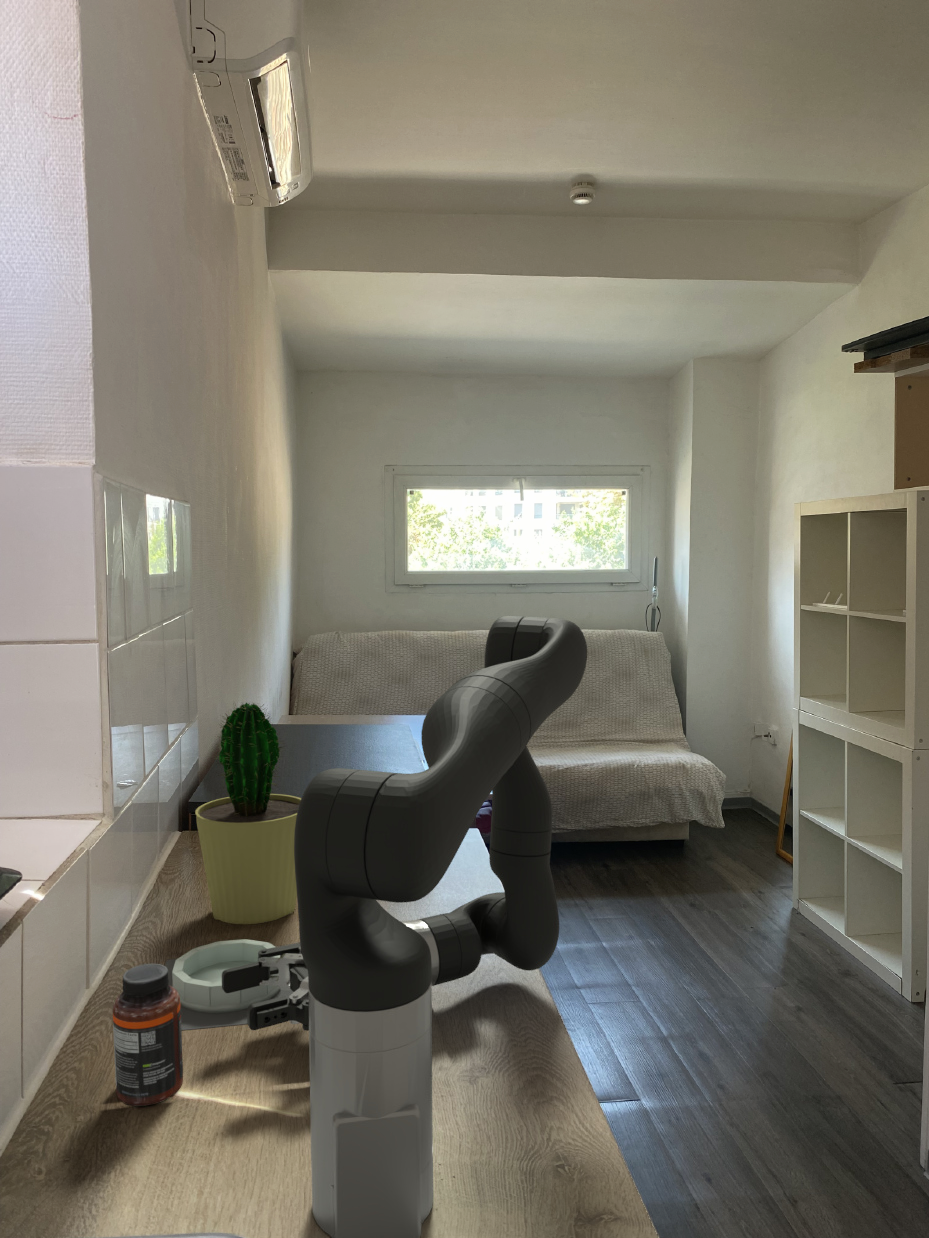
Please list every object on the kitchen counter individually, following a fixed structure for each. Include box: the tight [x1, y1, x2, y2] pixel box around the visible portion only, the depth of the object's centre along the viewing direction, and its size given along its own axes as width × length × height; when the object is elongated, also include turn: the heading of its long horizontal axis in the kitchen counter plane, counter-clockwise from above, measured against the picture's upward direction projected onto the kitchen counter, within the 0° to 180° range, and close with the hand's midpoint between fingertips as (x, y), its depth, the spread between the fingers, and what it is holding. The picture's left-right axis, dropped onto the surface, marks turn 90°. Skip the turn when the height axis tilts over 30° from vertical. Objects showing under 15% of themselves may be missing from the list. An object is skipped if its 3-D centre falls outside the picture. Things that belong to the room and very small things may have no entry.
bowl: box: [172, 938, 280, 1013], centre depth 105 cm, size 12×12×3 cm
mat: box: [164, 958, 294, 1031], centre depth 105 cm, size 18×16×1 cm
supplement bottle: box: [112, 963, 184, 1107], centre depth 85 cm, size 6×6×11 cm
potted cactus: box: [194, 701, 302, 925], centre depth 128 cm, size 15×15×30 cm
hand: (235, 999), depth 89 cm, fingers open, 8 cm apart
